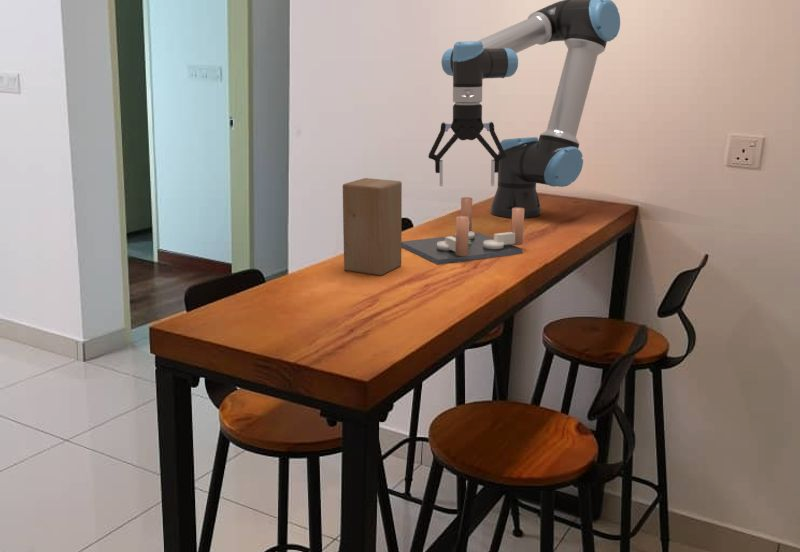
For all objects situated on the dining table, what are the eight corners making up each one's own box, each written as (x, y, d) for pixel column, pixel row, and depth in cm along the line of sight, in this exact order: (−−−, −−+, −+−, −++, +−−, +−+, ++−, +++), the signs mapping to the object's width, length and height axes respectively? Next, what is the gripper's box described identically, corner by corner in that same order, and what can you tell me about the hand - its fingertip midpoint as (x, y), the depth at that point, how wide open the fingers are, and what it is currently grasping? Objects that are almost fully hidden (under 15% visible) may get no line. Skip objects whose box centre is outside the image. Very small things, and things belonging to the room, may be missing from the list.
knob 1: (433, 246, 198) (433, 211, 196) (450, 244, 200) (451, 209, 198) (455, 256, 189) (456, 219, 186) (473, 254, 191) (474, 217, 188)
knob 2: (474, 239, 206) (475, 205, 203) (454, 239, 206) (455, 204, 204) (475, 230, 216) (476, 197, 214) (456, 229, 217) (457, 197, 214)
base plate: (479, 236, 215) (479, 228, 214) (522, 253, 198) (522, 244, 197) (399, 246, 205) (399, 237, 204) (438, 264, 188) (438, 255, 187)
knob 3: (490, 249, 195) (491, 213, 193) (479, 245, 199) (480, 210, 197) (527, 245, 200) (529, 209, 197) (516, 241, 204) (517, 206, 202)
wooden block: (343, 270, 182) (341, 183, 177) (365, 260, 191) (364, 177, 185) (381, 276, 178) (381, 187, 172) (402, 265, 187) (402, 180, 181)
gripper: (418, 105, 203) (419, 187, 209) (517, 104, 201) (515, 187, 207) (419, 102, 210) (420, 182, 216) (514, 101, 208) (512, 182, 215)
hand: (466, 185), depth 212 cm, fingers open, 13 cm apart
